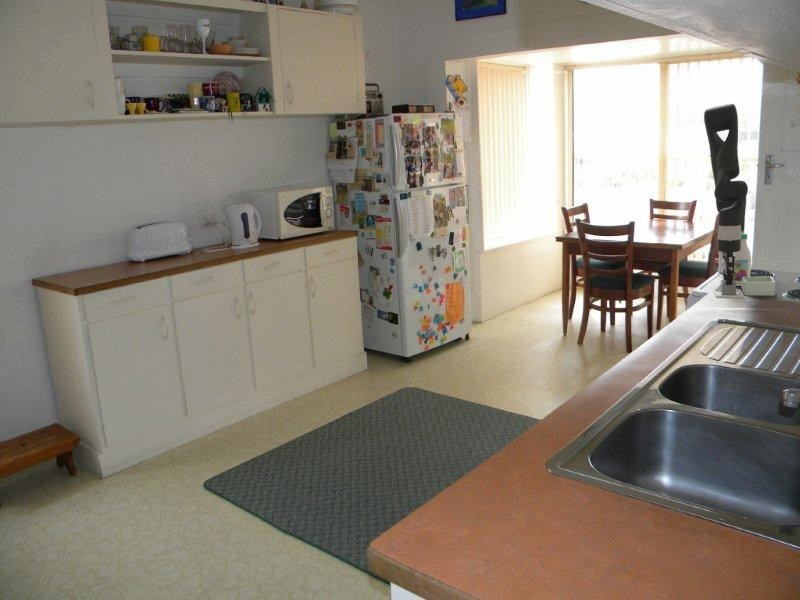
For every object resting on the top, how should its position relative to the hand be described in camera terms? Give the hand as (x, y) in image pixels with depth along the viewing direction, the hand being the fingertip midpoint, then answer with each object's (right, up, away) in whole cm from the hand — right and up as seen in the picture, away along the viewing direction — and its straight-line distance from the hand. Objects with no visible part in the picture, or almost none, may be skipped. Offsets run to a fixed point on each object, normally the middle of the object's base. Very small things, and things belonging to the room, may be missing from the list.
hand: (727, 282), depth 250 cm
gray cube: (+1, -4, +1) cm, 4 cm away
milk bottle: (+11, -1, +14) cm, 17 cm away
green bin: (+11, -4, +1) cm, 12 cm away
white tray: (+1, -5, +1) cm, 5 cm away
